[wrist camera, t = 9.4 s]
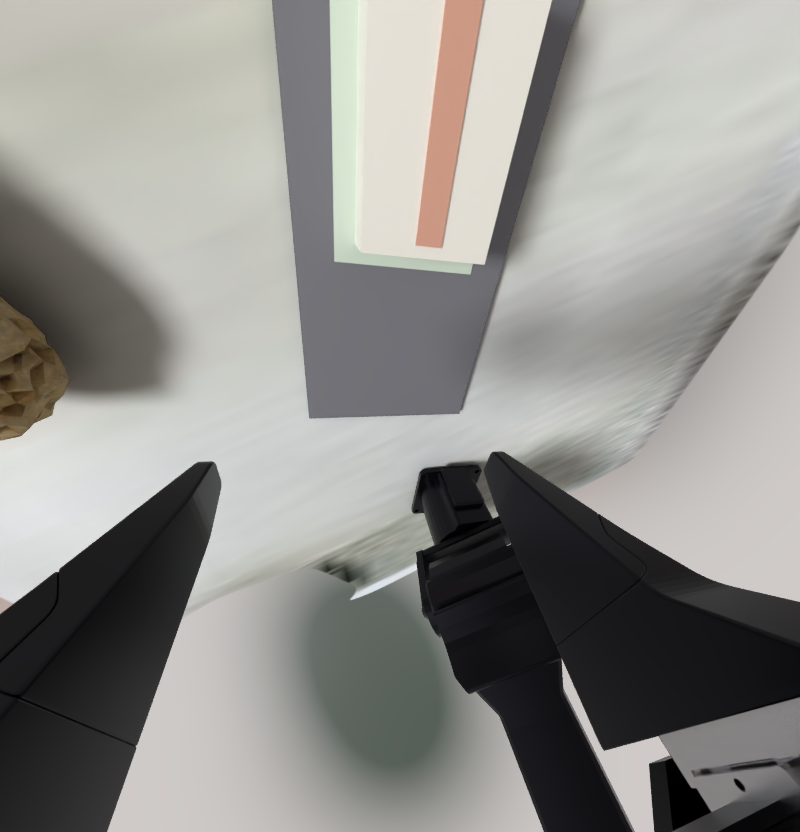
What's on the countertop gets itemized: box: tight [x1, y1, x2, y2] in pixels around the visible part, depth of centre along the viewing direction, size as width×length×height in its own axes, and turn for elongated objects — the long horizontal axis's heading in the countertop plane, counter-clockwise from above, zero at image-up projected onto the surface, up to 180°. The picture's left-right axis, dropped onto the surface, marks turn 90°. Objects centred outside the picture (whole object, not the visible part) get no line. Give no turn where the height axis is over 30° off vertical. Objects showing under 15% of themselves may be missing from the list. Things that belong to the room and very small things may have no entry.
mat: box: [272, 0, 580, 418], centre depth 16 cm, size 22×12×1 cm, turn 173°
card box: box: [355, 0, 552, 265], centre depth 12 cm, size 6×9×3 cm, turn 174°
